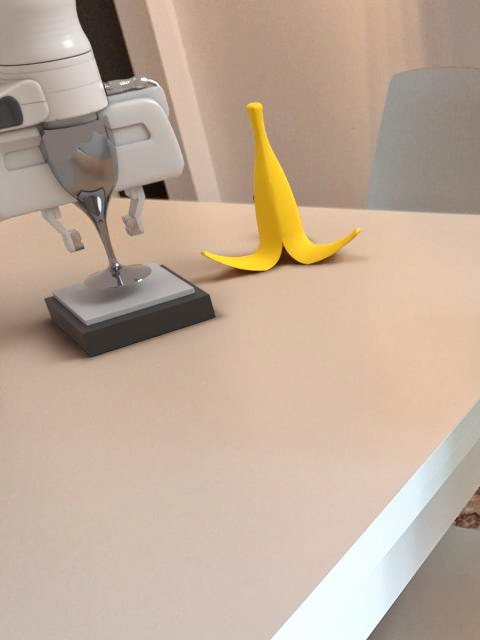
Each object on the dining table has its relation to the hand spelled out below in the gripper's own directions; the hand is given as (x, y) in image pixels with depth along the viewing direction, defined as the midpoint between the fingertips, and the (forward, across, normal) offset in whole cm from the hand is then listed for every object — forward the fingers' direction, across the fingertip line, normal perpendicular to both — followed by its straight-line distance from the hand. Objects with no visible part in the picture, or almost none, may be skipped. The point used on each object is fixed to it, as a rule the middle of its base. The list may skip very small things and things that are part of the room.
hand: (106, 242), depth 97 cm
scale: (+8, 0, 0) cm, 8 cm away
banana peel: (+8, -23, -3) cm, 25 cm away
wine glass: (+4, 0, 0) cm, 4 cm away
